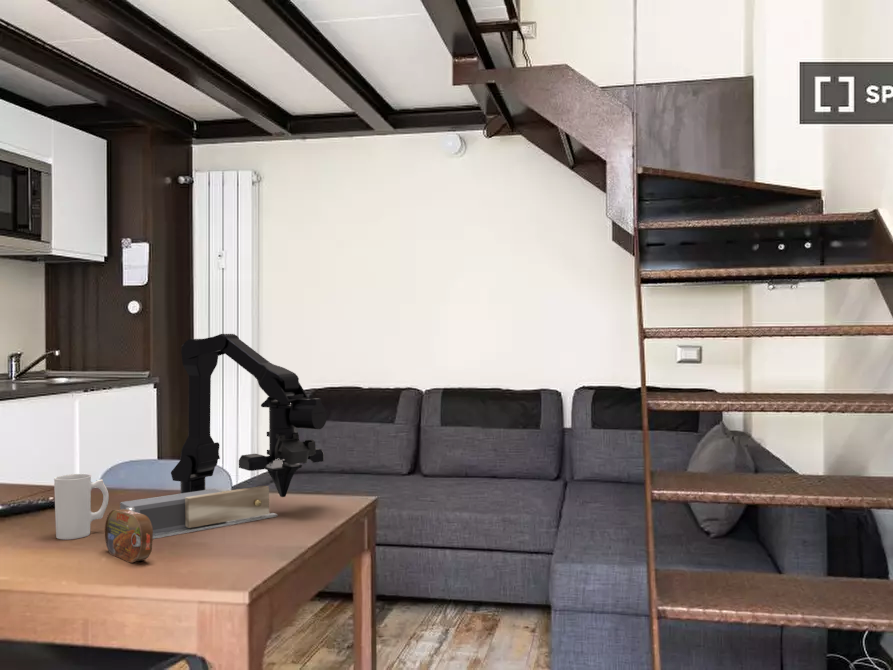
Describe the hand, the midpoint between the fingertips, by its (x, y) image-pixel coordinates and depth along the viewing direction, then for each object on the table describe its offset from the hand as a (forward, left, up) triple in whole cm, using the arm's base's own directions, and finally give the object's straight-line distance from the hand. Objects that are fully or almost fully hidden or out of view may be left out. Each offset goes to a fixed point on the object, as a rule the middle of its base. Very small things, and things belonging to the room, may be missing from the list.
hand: (282, 496), depth 171 cm
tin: (+11, -37, -4) cm, 39 cm away
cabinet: (-4, -23, -4) cm, 24 cm away
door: (+1, -13, -3) cm, 13 cm away
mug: (-12, -39, -4) cm, 41 cm away
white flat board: (0, -18, -4) cm, 18 cm away
